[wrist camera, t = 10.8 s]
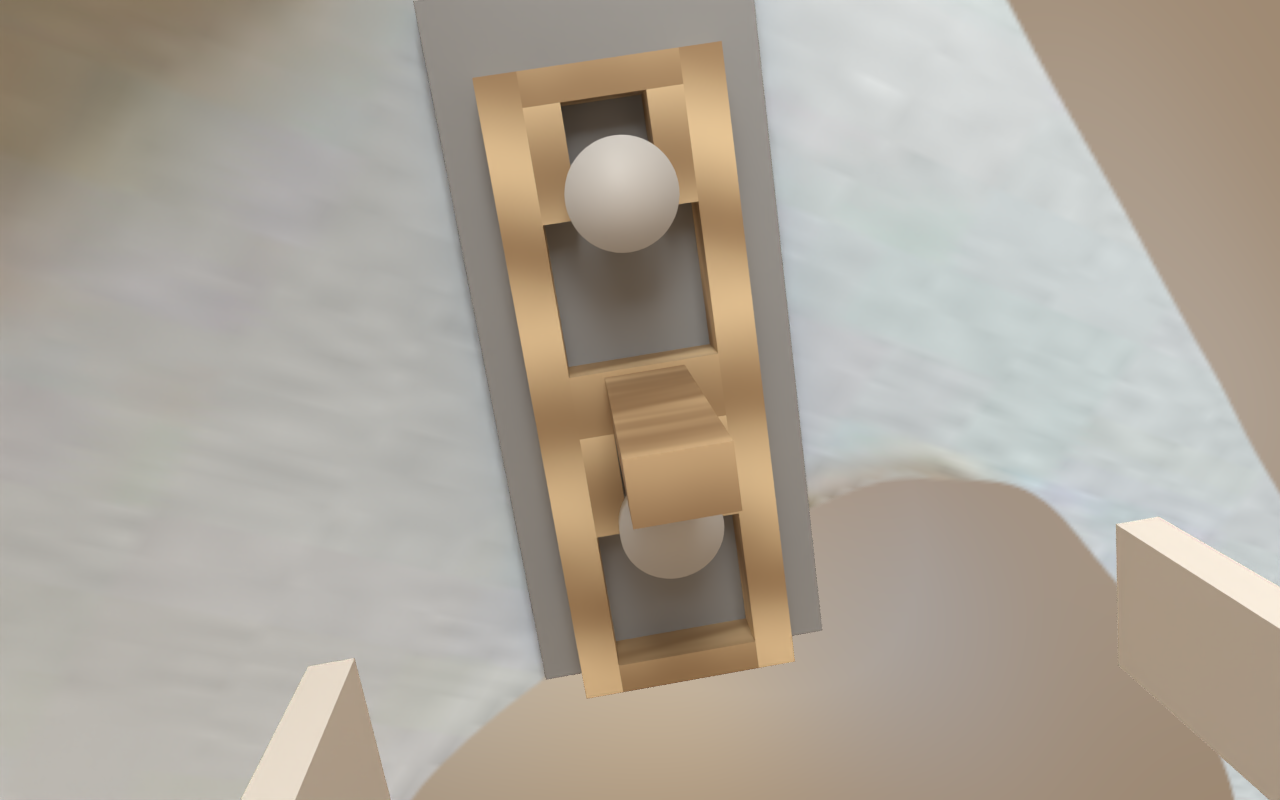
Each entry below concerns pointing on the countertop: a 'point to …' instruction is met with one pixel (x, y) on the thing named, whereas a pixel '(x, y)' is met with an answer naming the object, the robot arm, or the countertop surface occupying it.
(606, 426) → the ball track frame
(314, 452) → the countertop surface
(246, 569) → the countertop surface
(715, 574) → the board
